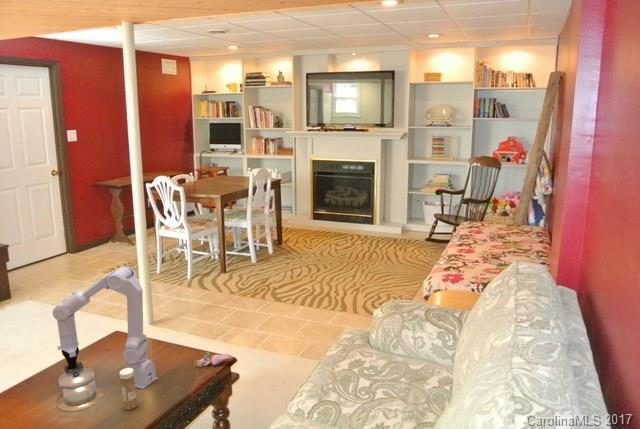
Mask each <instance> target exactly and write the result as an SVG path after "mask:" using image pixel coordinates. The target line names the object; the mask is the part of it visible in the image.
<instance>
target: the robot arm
mask: <svg viewBox="0 0 640 429" xmlns="http://www.w3.org/2000/svg"><path fill="white" fill-rule="evenodd" d="M103 289H104V290H105V289H106V290H109V289H110V290H112V291H114V292H117V293H118V294H121V295H124V296H125V297H126V306H127V308H126V310H127V315H126V316H127V339H126V342H125V347H124V348H125V349H124V351H123V353H122V357H123V360H124V362H125V363H126V366H127V367H126V368H132V369H133V370H134V382H135V388H138V389H142V390H143V389H145V388H147V387H148V386H150V385H151V384H152V383H154V382H155V381H157V380H158V379H159V378H158V377H157V372H156V365H155V363H154V362H153V361H152V360H150V359H149V358H148V354H147V351H148V350H149V347H150V345H149V344H150V343H149V342H148V340H147V335H146V334H144V308H143V307H144V302H143V301H144V300H143V296H144V295H143V294H144V293H143V292H144V291H143V287H142V285H141V283H140V281H139V279H138V278H137V274H136V271H135V270H134V269H132V268H131V267H130V266H127V265H122V266H119V267H118V268H117V269H114V270H113V271H111V272H108V273H107V274H105V275H103V276H102V277H101V278H100V279H98V280H96V281H95V282H94V283H93V284H91V285H90V286H89V287H88V288H86V289H85V290H84V289H79V290H78V291H77V290H74V291H73V292H71V295H70V296H69V297H67V298H64V299H63V300H62V302H61V303H60V304H58V305H56V306H55V307H53V308H54V309H52V316H53V318H54V319H55V320H56V321H57V322H56V323H57V327H58V335H59V337H58V338H59V344H60V345H58V346H57V350H58V351H61V354H62V356H63V357H64V358H65V360H66V362H67V365H71V364H74V363H77V361H78V355H79V352H80V349H79V344H80V343H79V341H78V334H77V325H76V320H75V318H76V316H75V314H76V312H78V311H79V310H81V309H82V308H84V307H85V306H86V305H87V304H89V303H90V301H91V297H93V296H94V295H96V294H97V293H99V292H101V291H102V290H103Z"/></svg>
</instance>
